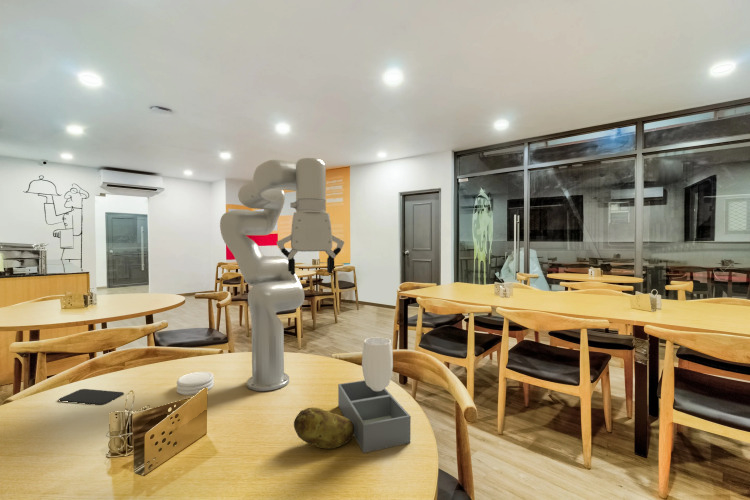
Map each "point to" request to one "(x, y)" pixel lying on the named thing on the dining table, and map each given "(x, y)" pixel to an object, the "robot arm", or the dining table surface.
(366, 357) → the cup
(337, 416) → the potato
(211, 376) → the coaster
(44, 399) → the dining table surface
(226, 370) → the dining table surface
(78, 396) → the phone
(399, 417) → the divided open storage box
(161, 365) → the dining table surface
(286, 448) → the dining table surface
